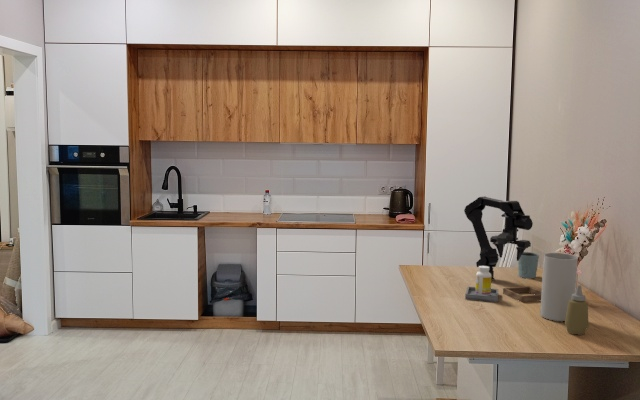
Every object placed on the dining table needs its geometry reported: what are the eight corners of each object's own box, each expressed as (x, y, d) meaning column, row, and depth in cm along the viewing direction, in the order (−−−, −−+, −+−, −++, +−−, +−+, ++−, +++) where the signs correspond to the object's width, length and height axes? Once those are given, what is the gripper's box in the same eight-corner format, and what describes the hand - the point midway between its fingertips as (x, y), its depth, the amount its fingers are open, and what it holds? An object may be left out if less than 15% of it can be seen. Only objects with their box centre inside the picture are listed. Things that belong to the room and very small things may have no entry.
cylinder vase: (533, 314, 239) (536, 254, 236) (556, 311, 244) (560, 252, 241) (556, 323, 228) (560, 260, 225) (580, 320, 233) (585, 258, 230)
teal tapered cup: (516, 277, 300) (517, 254, 298) (517, 273, 309) (518, 251, 308) (537, 280, 296) (538, 256, 295) (538, 275, 305) (539, 252, 304)
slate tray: (467, 291, 272) (467, 286, 272) (498, 294, 268) (498, 289, 268) (465, 299, 260) (465, 294, 259) (497, 302, 255) (497, 297, 255)
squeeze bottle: (586, 330, 220) (590, 284, 218) (589, 337, 212) (592, 289, 210) (563, 328, 223) (566, 281, 221) (564, 335, 215) (568, 287, 213)
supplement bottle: (493, 294, 264) (494, 266, 263) (486, 297, 259) (488, 269, 258) (479, 292, 268) (480, 264, 267) (472, 294, 263) (473, 266, 262)
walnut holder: (502, 293, 270) (503, 288, 269) (528, 291, 274) (529, 286, 273) (521, 302, 256) (522, 296, 256) (548, 300, 260) (549, 294, 260)
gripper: (484, 226, 283) (482, 257, 285) (518, 231, 268) (517, 264, 270) (497, 224, 290) (496, 255, 292) (532, 229, 276) (530, 261, 277)
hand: (509, 259), depth 282 cm, fingers open, 9 cm apart
